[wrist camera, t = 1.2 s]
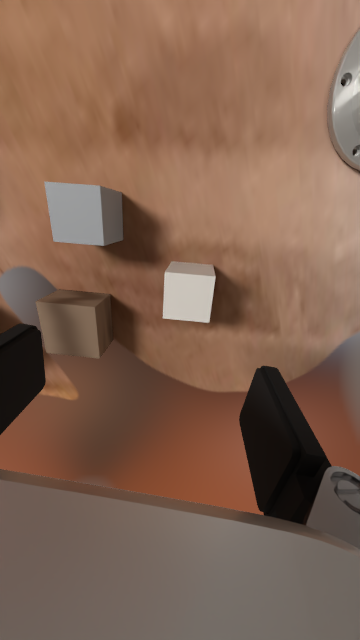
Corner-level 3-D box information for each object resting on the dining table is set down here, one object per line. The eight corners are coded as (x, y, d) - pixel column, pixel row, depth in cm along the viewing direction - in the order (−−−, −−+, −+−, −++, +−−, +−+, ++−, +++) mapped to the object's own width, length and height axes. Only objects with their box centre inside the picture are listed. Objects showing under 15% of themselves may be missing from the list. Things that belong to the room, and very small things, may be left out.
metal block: (110, 293, 30) (94, 307, 26) (113, 339, 33) (99, 358, 29) (59, 289, 31) (35, 301, 26) (67, 334, 34) (46, 352, 29)
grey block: (121, 192, 25) (99, 185, 20) (123, 240, 27) (103, 245, 22) (78, 189, 25) (44, 181, 20) (82, 236, 27) (53, 241, 22)
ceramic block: (212, 264, 28) (215, 276, 22) (207, 303, 30) (209, 322, 24) (172, 261, 28) (164, 272, 22) (169, 299, 30) (162, 318, 24)
